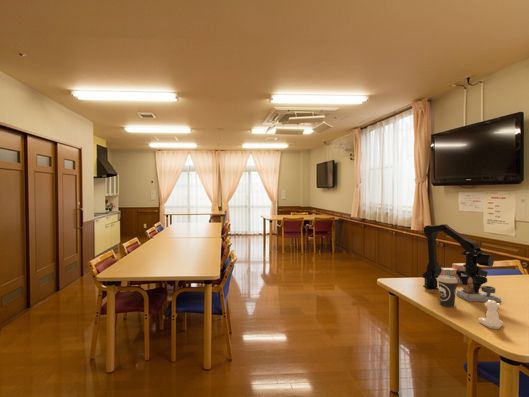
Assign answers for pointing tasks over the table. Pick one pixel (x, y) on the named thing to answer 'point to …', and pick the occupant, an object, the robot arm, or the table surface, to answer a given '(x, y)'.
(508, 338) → the table surface
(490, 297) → the light gray tray
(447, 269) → the stack of blocks
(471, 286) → the brown wooden block
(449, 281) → the coffee cup
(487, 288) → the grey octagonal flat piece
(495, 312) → the sitting furry creature
